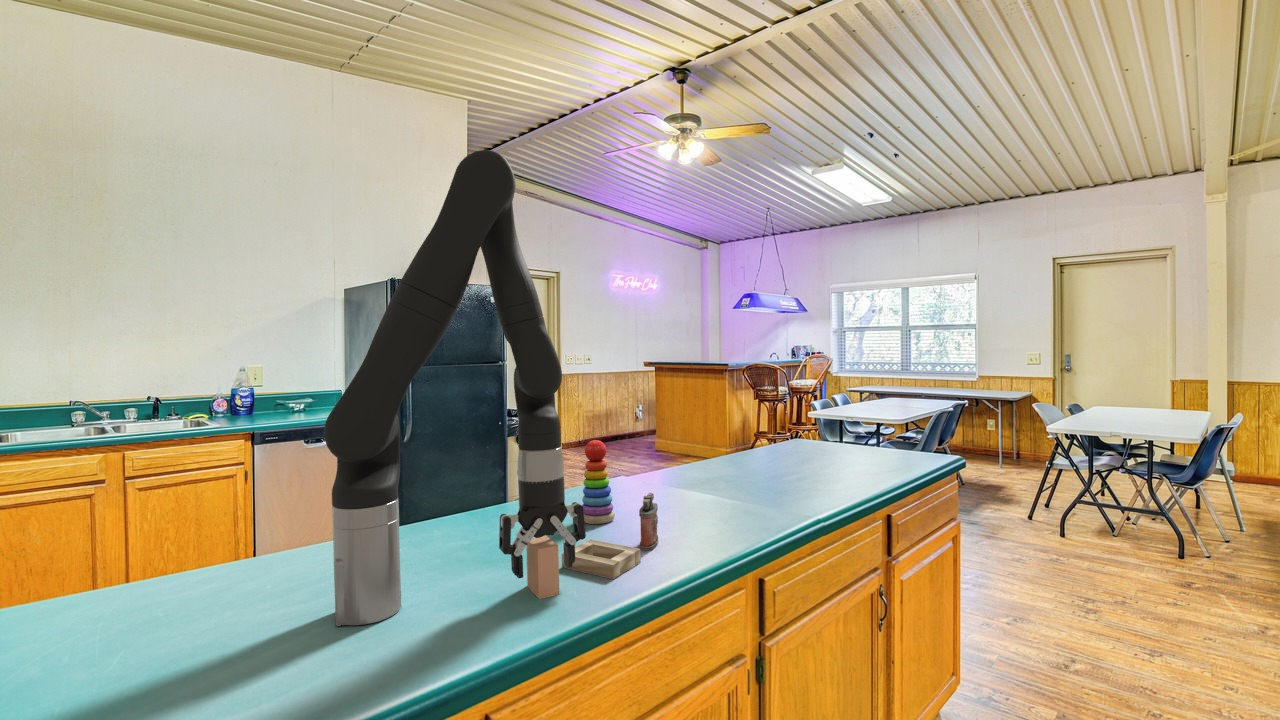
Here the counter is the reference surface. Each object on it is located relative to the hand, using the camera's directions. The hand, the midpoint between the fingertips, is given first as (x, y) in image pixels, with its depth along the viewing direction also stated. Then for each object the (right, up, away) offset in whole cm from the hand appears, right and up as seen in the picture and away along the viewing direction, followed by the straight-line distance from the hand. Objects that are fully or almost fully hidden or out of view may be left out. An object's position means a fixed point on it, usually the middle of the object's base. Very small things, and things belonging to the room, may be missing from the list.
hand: (544, 571), depth 96 cm
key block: (0, -3, 0) cm, 3 cm away
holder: (+9, -3, +11) cm, 14 cm away
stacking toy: (+6, -3, +39) cm, 39 cm away
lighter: (+18, -3, +21) cm, 28 cm away
